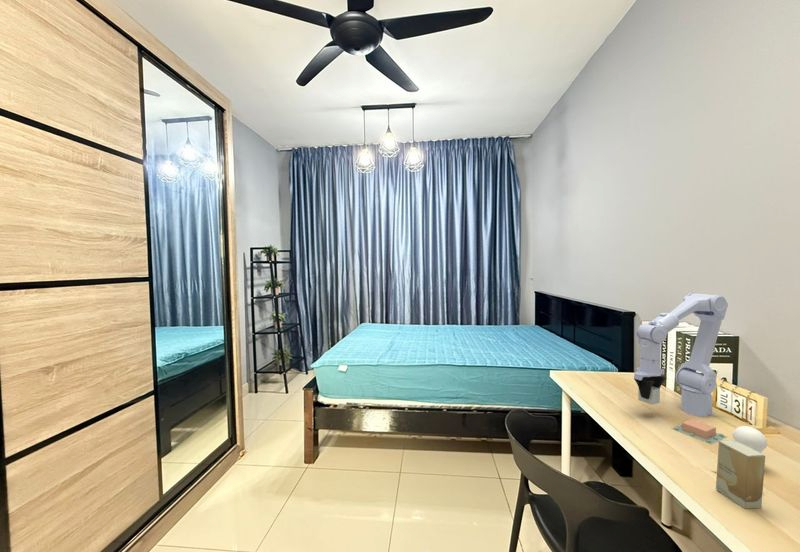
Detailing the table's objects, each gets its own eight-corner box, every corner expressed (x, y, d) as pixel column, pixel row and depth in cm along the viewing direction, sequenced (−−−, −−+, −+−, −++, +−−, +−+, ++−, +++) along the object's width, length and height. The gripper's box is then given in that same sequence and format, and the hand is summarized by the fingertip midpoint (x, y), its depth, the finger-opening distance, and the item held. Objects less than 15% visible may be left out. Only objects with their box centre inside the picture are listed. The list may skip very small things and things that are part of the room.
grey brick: (645, 397, 114) (645, 384, 113) (659, 402, 110) (660, 388, 109) (638, 400, 112) (638, 386, 112) (652, 404, 108) (652, 390, 108)
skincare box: (714, 489, 75) (716, 439, 75) (731, 488, 76) (732, 438, 75) (746, 510, 69) (748, 455, 68) (764, 509, 69) (766, 454, 69)
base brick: (691, 426, 104) (691, 418, 104) (715, 435, 98) (715, 427, 98) (681, 430, 101) (682, 422, 101) (706, 439, 96) (706, 431, 96)
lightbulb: (773, 477, 80) (775, 434, 79) (744, 474, 81) (746, 432, 81) (752, 462, 86) (753, 423, 85) (725, 459, 87) (726, 420, 87)
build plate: (687, 424, 106) (687, 420, 106) (727, 439, 97) (727, 435, 97) (671, 431, 102) (671, 427, 102) (711, 447, 93) (711, 442, 93)
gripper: (648, 353, 117) (648, 389, 117) (625, 358, 111) (624, 396, 111) (671, 358, 110) (670, 396, 111) (647, 363, 104) (647, 404, 105)
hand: (649, 396), depth 111 cm, fingers closed on grey brick, 4 cm apart
